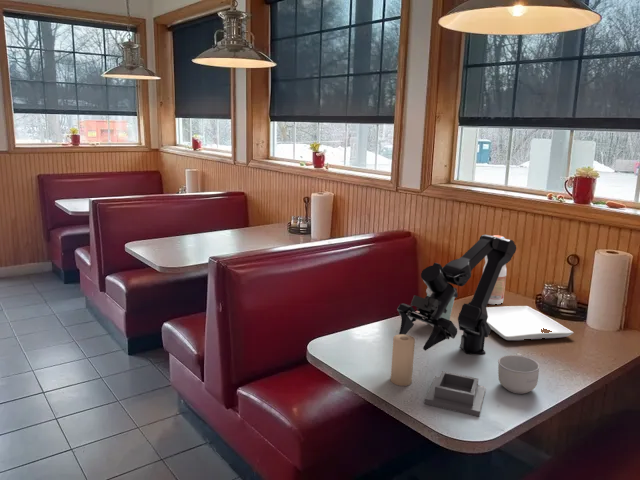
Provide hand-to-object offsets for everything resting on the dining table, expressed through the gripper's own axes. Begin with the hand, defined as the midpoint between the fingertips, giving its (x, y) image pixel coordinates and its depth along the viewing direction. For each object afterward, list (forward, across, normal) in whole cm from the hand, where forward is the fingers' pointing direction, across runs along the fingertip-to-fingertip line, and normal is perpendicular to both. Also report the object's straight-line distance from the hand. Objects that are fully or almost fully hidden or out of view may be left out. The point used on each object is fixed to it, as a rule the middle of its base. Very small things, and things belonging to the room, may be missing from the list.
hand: (411, 344), depth 150 cm
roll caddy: (+6, +15, +8) cm, 19 cm away
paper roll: (+10, 0, +5) cm, 11 cm away
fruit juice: (-50, -24, +64) cm, 85 cm away
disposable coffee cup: (-21, -20, +35) cm, 46 cm away
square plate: (-37, -2, +52) cm, 63 cm away
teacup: (-8, +22, +22) cm, 32 cm away
